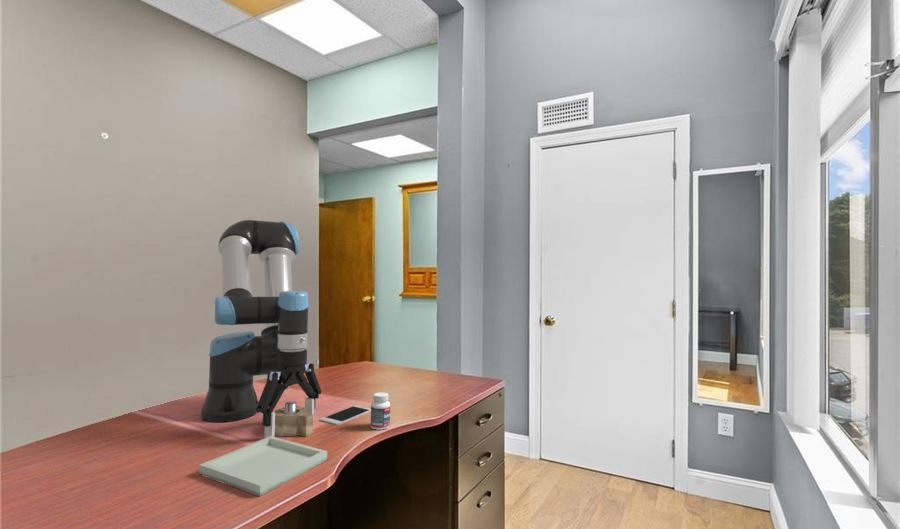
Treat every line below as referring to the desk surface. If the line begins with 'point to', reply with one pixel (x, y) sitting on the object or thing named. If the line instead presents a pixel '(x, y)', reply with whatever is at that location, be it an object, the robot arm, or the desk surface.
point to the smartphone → (345, 415)
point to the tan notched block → (293, 422)
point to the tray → (263, 464)
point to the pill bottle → (380, 412)
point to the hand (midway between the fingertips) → (290, 429)
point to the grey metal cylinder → (290, 407)
